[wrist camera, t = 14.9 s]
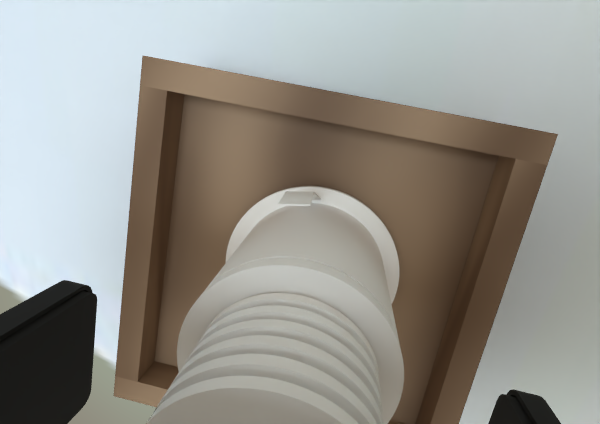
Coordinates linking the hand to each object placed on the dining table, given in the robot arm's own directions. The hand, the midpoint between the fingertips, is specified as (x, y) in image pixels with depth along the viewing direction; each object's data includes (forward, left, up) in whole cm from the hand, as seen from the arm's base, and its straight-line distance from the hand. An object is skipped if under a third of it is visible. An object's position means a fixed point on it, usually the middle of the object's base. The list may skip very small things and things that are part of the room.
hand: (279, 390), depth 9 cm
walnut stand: (0, 0, -12) cm, 12 cm away
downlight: (0, 0, -8) cm, 8 cm away
